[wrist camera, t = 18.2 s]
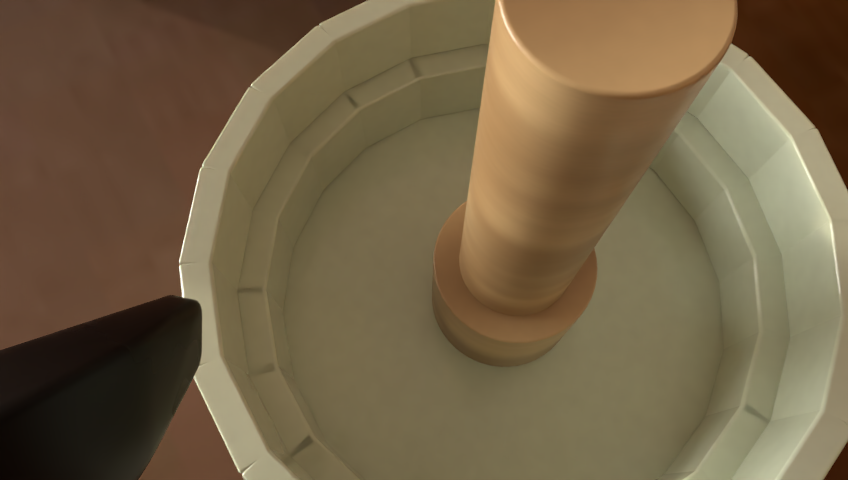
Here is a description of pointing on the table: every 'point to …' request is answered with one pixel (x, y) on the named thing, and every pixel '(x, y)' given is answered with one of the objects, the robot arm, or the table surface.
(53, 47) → the table surface
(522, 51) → the cylinder
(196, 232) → the bowl
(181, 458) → the table surface
